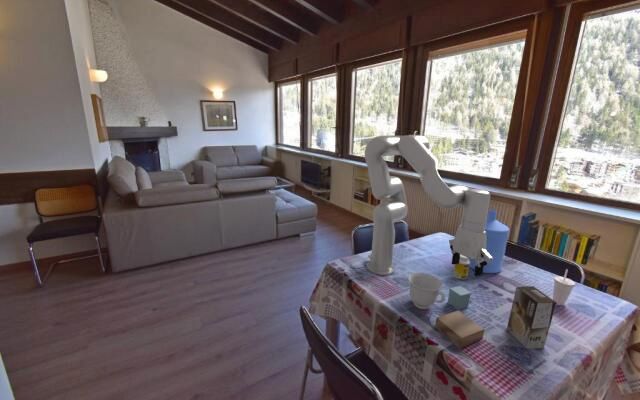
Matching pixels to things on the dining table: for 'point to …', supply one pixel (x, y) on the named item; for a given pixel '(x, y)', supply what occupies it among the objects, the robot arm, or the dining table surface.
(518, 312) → the coffee box
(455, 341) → the tan flat block
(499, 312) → the dining table surface
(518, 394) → the dining table surface
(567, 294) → the smoothie
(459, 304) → the slate block
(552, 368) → the dining table surface
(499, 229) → the water jug
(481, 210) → the robot arm
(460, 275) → the supplement bottle
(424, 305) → the teacup
